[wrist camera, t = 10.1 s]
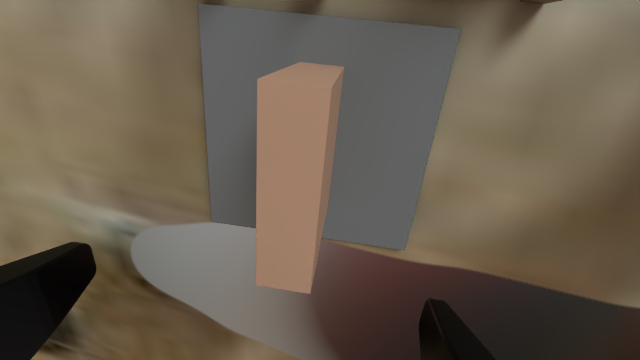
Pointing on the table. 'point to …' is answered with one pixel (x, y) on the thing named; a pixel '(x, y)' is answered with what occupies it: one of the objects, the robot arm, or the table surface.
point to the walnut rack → (540, 1)
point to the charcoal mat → (354, 112)
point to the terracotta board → (294, 170)
